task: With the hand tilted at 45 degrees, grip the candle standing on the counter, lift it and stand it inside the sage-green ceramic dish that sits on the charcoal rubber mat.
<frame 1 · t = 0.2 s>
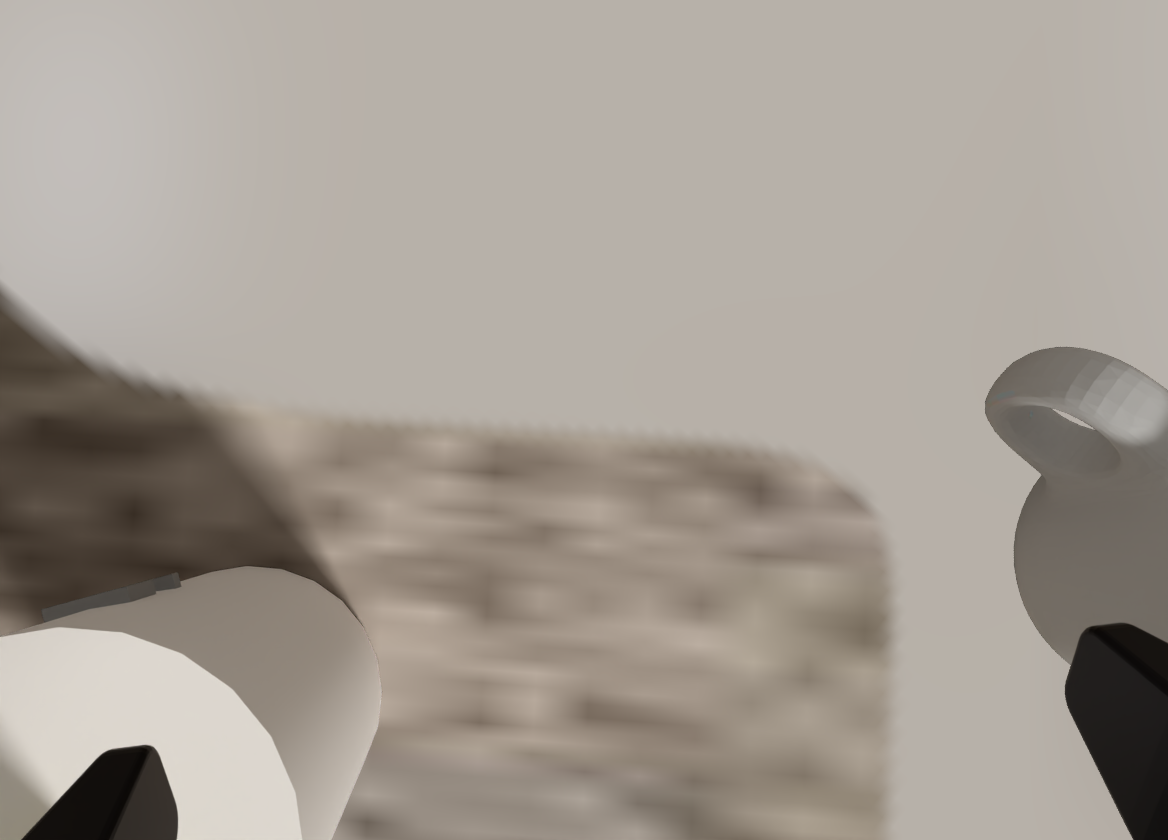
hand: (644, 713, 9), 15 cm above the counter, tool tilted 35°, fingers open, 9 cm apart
cup: (1067, 521, 26), on the counter
candle: (248, 692, 23), on the counter
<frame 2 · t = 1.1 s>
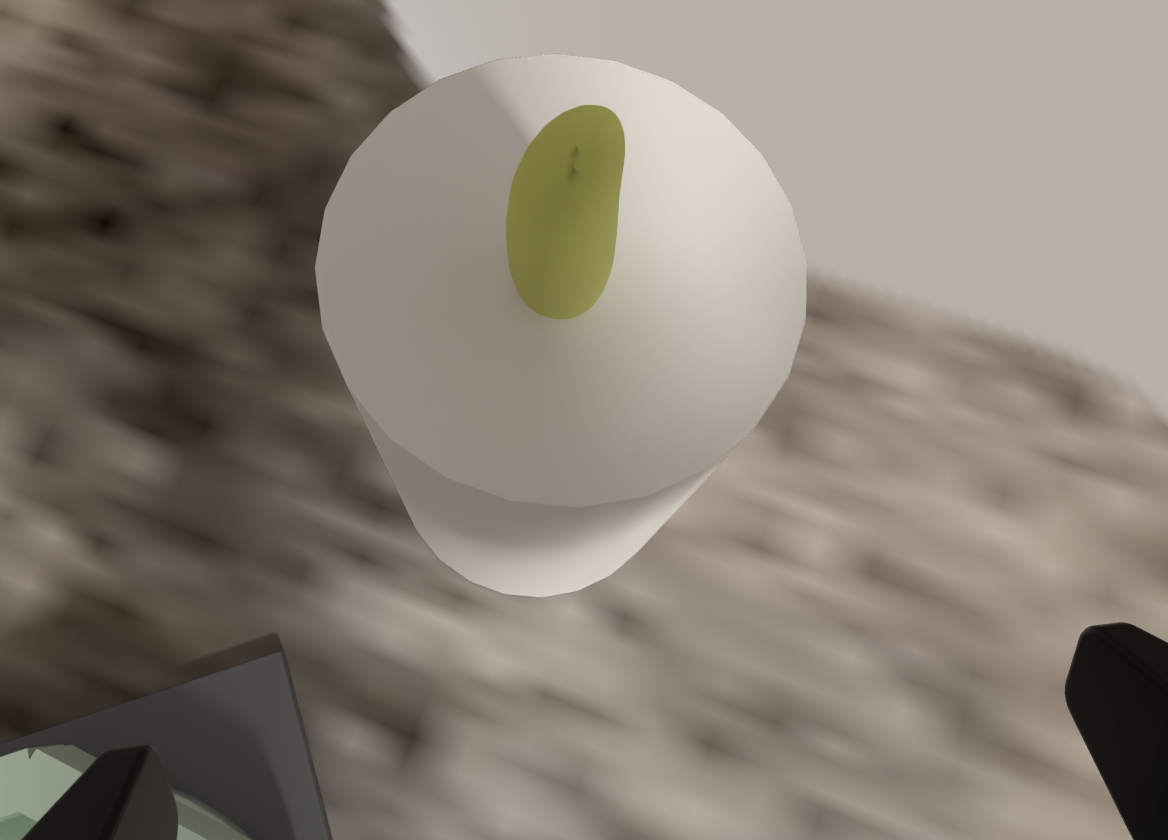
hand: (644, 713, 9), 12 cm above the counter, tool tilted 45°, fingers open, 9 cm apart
candle: (535, 457, 23), on the counter
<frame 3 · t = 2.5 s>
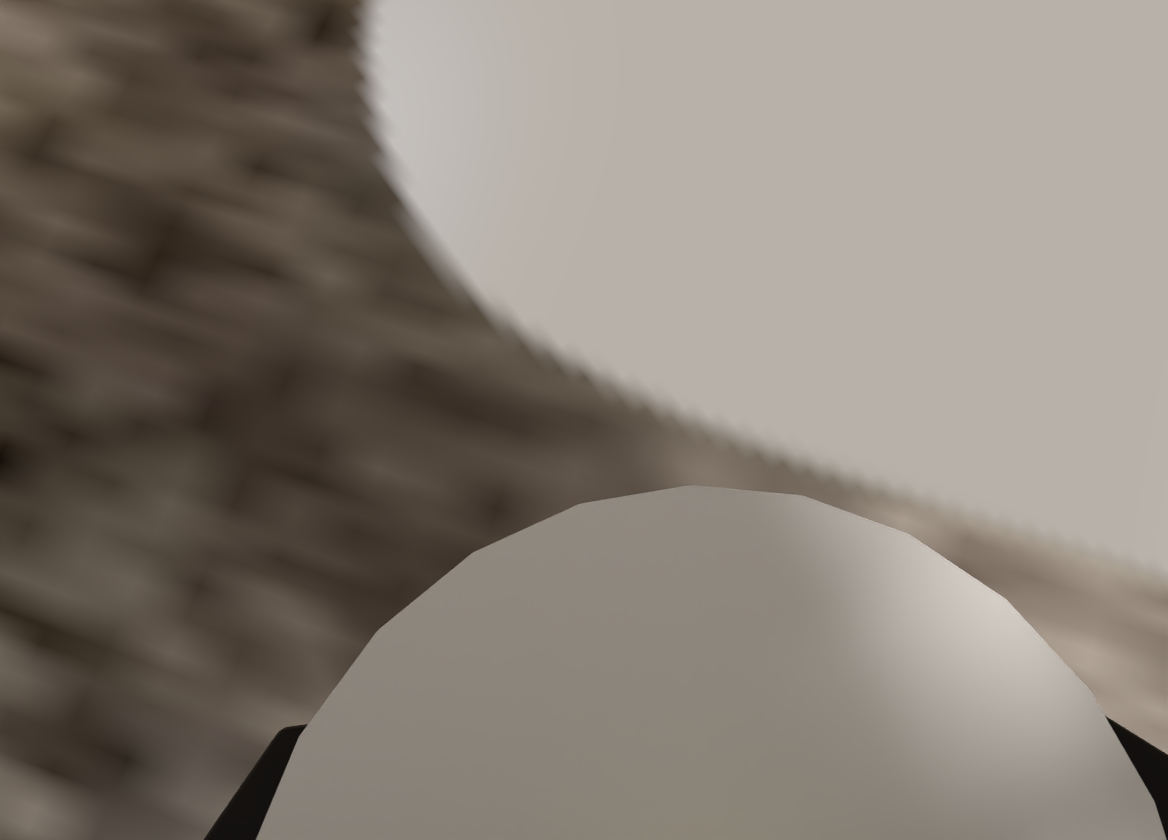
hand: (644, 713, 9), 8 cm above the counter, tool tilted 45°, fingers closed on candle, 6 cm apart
candle: (586, 790, 16), on the counter, touching gripper
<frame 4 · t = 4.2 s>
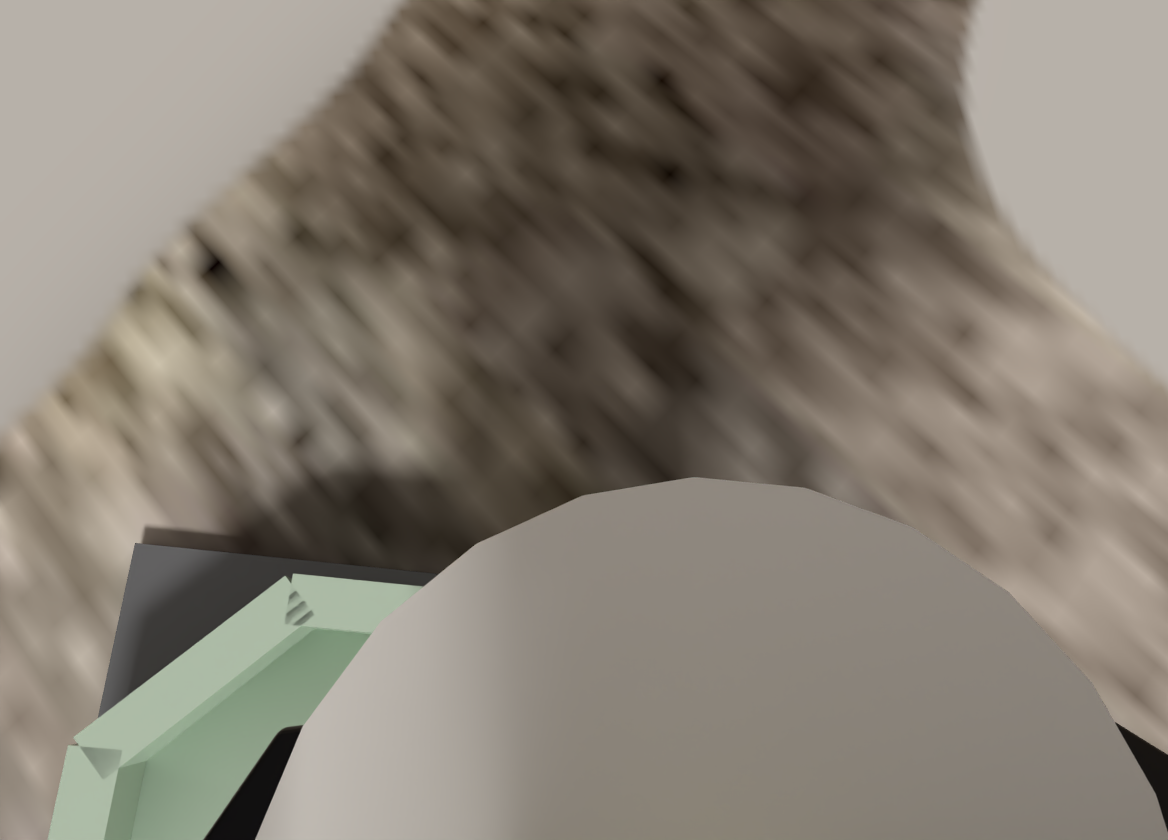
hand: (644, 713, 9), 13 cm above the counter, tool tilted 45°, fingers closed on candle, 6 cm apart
candle: (586, 781, 16), point 5 cm above the counter, touching gripper
when the fingers open (10 cm above the counter, at t = 5.9 s): candle stays where it is, resting on dish.
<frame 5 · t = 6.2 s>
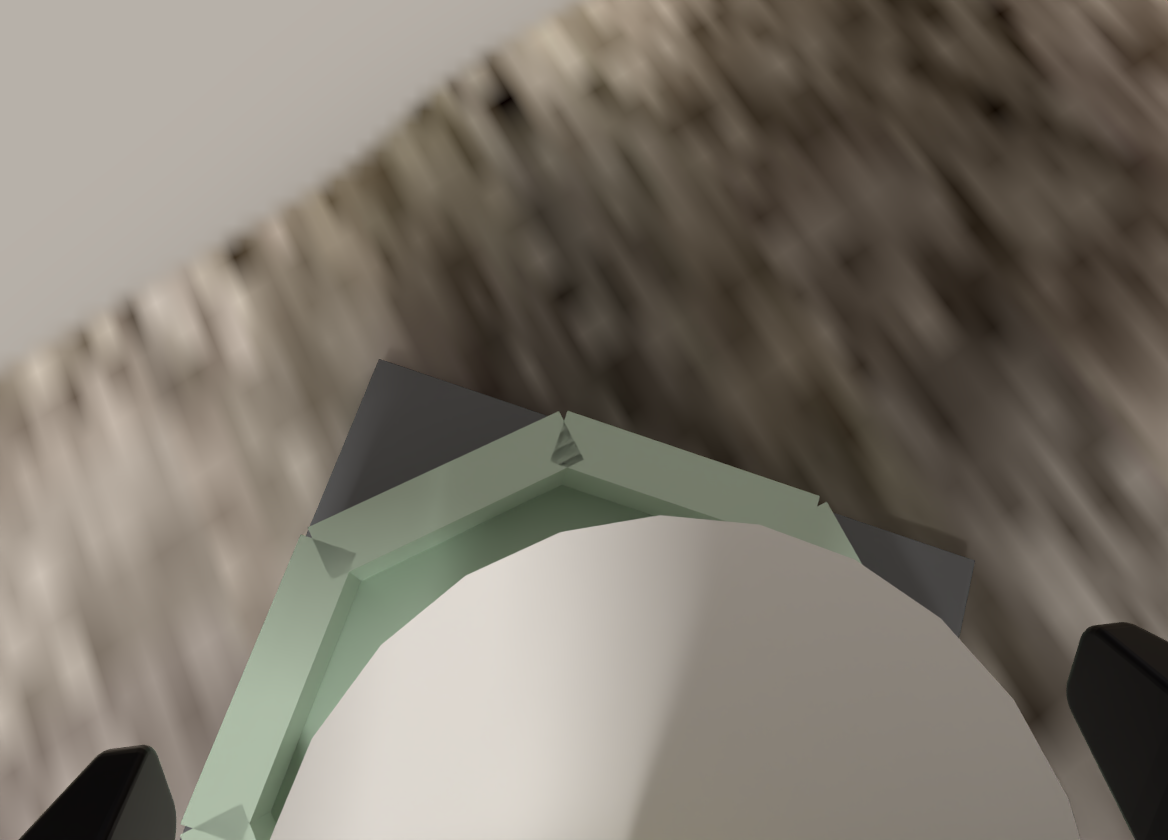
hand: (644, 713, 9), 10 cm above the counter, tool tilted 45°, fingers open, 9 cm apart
dish: (579, 778, 18), resting on mat
mat: (577, 776, 18), on the counter
candle: (576, 786, 17), point 1 cm above the counter, touching dish
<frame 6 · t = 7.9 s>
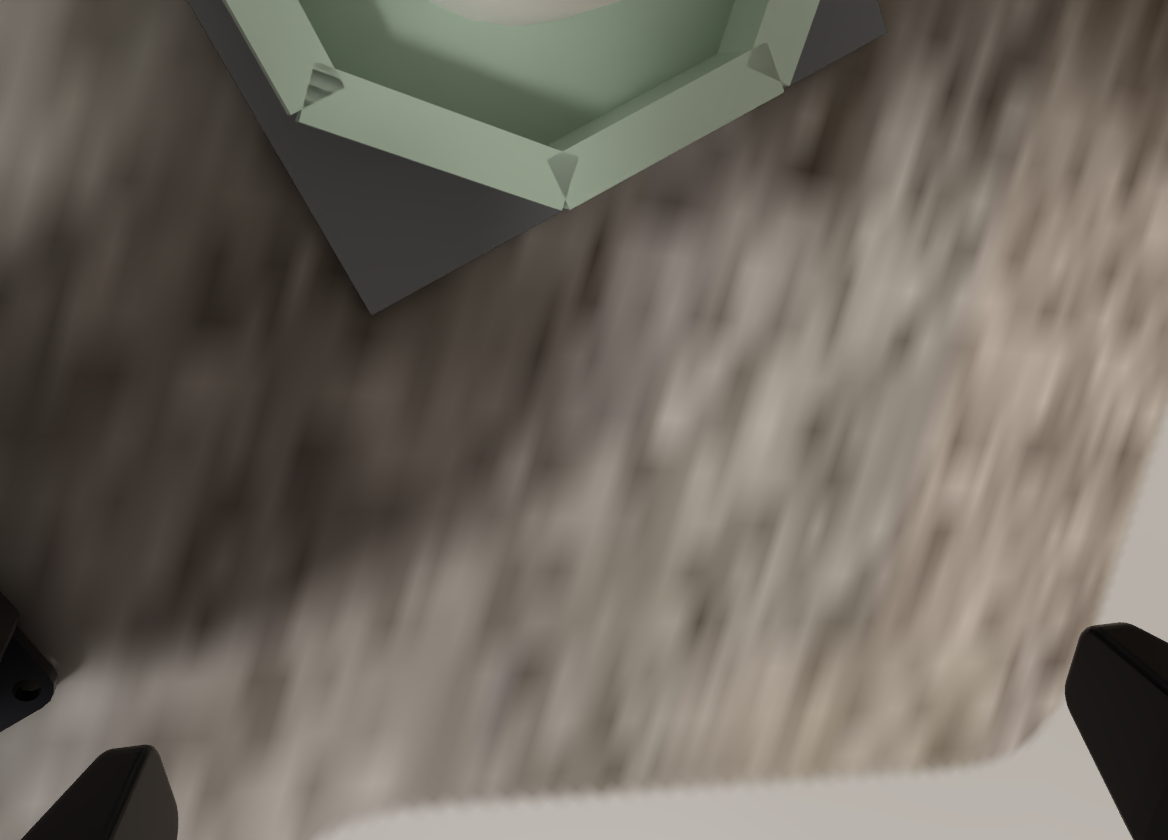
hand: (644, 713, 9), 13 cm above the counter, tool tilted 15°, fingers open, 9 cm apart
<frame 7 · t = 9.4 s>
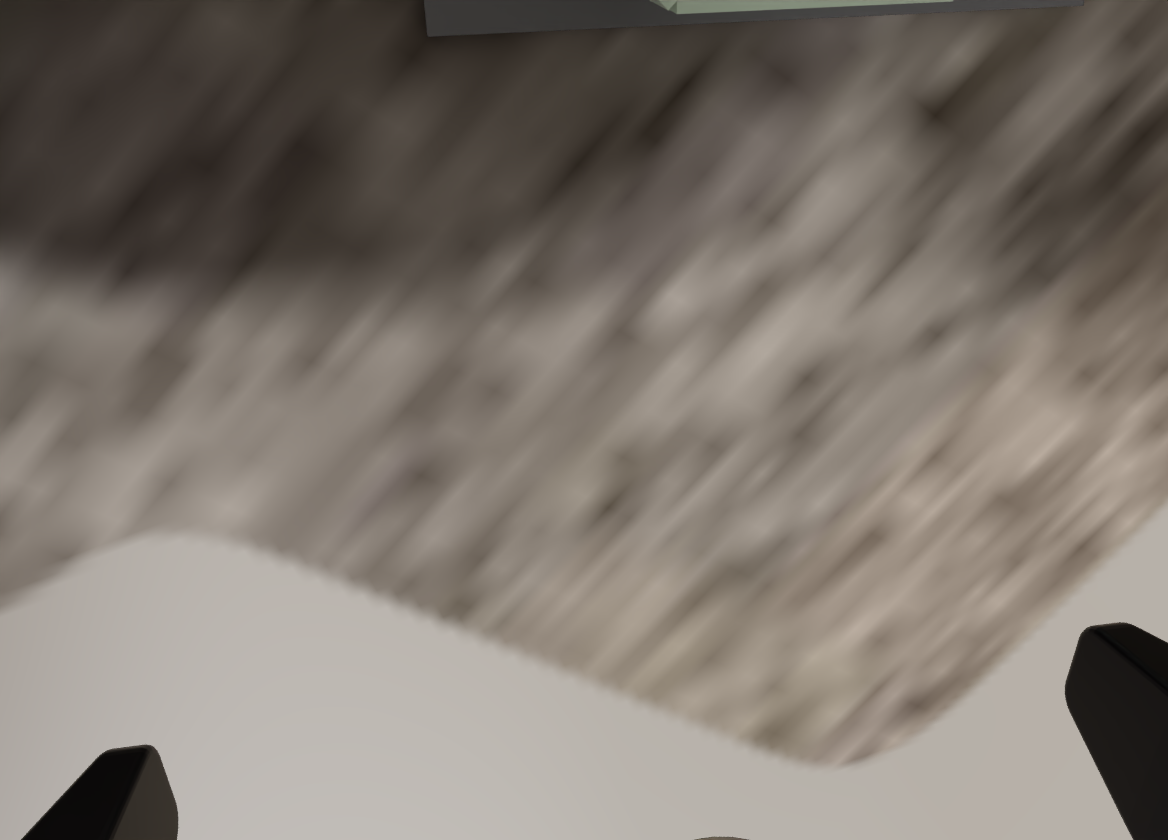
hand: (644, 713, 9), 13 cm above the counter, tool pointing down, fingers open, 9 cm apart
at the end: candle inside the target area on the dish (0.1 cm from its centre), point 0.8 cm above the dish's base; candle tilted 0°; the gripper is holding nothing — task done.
